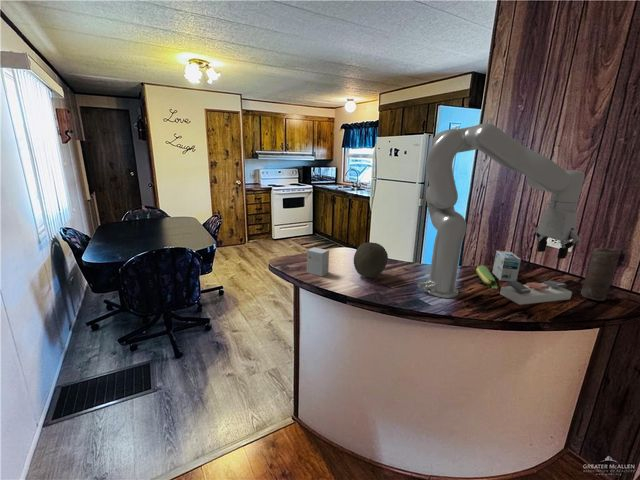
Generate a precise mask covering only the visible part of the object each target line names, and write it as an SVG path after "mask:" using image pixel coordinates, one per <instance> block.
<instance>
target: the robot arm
mask: <svg viewBox="0 0 640 480" xmlns="http://www.w3.org/2000/svg"><path fill="white" fill-rule="evenodd" d="M476 150H478V151H480V152H482V154H485V155H486V156H487V157H489V158H490V159H492V160H493V161H494V162H495V163H497V164H499V166H501V167H503V168H505V169H507V170H509V171H512V172H516V173H518V174H521V175H523V176H526V177H527V178H526V181H527V185H528V186H529V187H530V188H532V189H534V190H536V191H541V192H548V193H552V194H551V198H550V200H549V201H547V205H549V207H548V208H546V209H545V211H544V213H543V214H542V217H541V220H540V222H539V225H538V226H536V227H535V228H533V229H534V232H535V235H536V237H537V241H538V244H537V250H536V252H537V253H543V252H546V250H547V246H548V239H549V238H550V239H552V240H556V241H559V242H560V247H559V248H558V253H557V256H556V257H557V259H559V260H560V259H563V260H564V259H566V258H567V256H568V253H569V249H571V248H572V247H574V246H575V245H576V244H578V243H579V242H581V238H580V237H579V236H578V234H577V233H576V229H577V223H578V212H576V211H577V207H578V204H579V199H580V195H581V192H582V188H583V185H584V180H585V177H586V176H585V172H584V171H582V170H576V169H575V170H572V169H564V168H563V167H561V166H560V165H558V164H557V163H555V162H554V161H553V160H552V159H550V158H548V157H547V156H544V155H542V154H541V153H538V152H536V151H534V150H533V149H531V148H528V147H527V146H524V145H523V144H521V143H520V142H518V141H517V140H516V139H514V138H513V137H511V136H510V135H509V134H507V133H506V132H505V131H503V130H502V129H500V128H499V127H497V126H496V125H494V124H493V123H488V122H484V123H481V124H477V125H472V126H469V127H468V126H467V127H463V128H457V129H456V128H450V129H446V130H443V131H439V132H438V133H437V134H436V135H435V136H434V137H433V139H432V141H431V148H430V149H429V152H428V154H427V158H426V161H425V162H426V163H425V169H426V175H427V182H428V186H427V188H426V190H425V200H426V204H427V208H428V214H429V218H430V221H431V224H432V226H433V228H435V230H436V235H435V239H434V242H433V249H432V255H431V256H432V257H431V264H430V268H429V269H430V270H429V277H428V278H426V280H425V281H419V282H417V285H416V286H417V287H418V288H423V290H424V291H425V293H427V294H429V295H432V296H434V297H437V298H443V299H451V298H452V299H453V298H456V297H458V295H459V290H458V288H456V283H457V282H456V281H457V276H458V269H459V262H460V256H461V250H462V245H463V241H464V237H465V235H466V233H467V232H466V231H467V222H466V219H465V218H464V216H463V215H462V214H461V213H459V212H458V211H456V210H455V206H456V204H457V202H458V198H459V196H458V194H459V193H458V190H457V186H456V180H455V176H454V169H453V162H454V160H455V159H454V158H455V157H456V156H457V154H458V153H464V152H465V153H466V152H470V151H476Z"/></svg>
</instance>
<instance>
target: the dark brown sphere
mask: <svg viewBox="0 0 640 480" xmlns="http://www.w3.org/2000/svg"><path fill="white" fill-rule="evenodd" d="M388 259H389V256H388V252H387V250H386V249H385V247H384V246H383V245H382V244H379V243H377V242H372V241H371V242H370V241H369V242H363V243H361V244H360V245H359V246H358V247H357V249H356V251H355V253H354V255H353V266H354V269H355V270H356V273H357V274H358V275H359V276H361V277H363V278H366V279H370V280H371V279H374V278H376V277H378V276H379V275H381V274H382V272H383V271H384V270H385V268H386V267H387V264H388Z"/></svg>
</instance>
